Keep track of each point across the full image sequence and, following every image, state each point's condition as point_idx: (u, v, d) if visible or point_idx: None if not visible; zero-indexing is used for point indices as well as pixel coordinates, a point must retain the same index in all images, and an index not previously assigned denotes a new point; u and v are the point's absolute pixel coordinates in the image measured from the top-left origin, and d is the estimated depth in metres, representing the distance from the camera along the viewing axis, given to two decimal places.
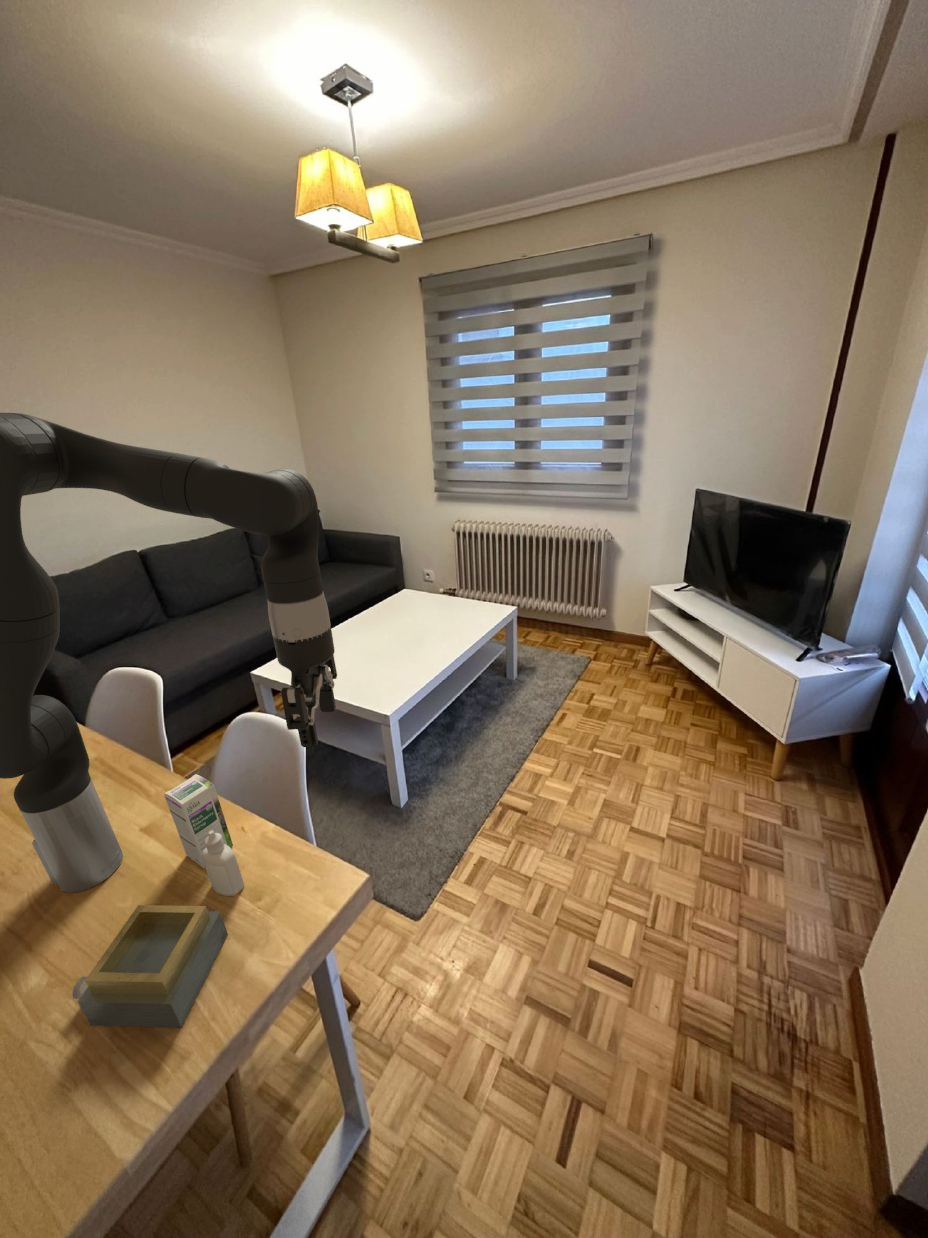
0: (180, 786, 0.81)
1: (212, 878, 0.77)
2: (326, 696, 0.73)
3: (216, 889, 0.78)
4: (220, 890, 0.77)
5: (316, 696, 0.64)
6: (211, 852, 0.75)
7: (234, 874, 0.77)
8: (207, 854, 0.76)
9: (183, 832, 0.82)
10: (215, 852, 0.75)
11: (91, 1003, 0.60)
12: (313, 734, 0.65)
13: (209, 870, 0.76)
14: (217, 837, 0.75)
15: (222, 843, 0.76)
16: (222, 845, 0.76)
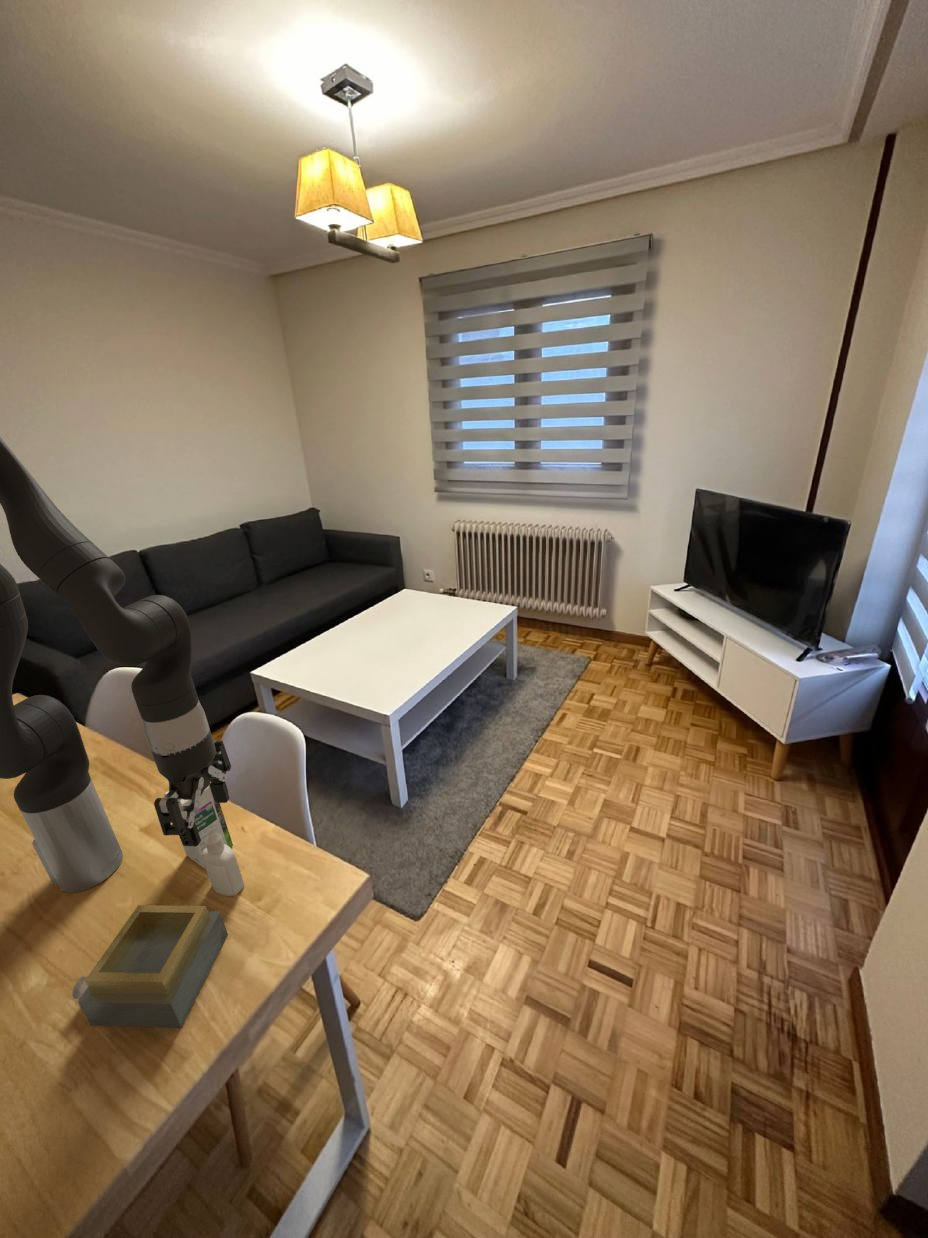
0: None
1: (212, 878, 0.77)
2: (218, 789, 0.77)
3: (216, 889, 0.78)
4: (220, 890, 0.77)
5: (195, 800, 0.68)
6: (211, 852, 0.75)
7: (234, 874, 0.77)
8: (207, 854, 0.76)
9: None
10: (215, 852, 0.75)
11: (91, 1003, 0.60)
12: (194, 835, 0.69)
13: (209, 870, 0.76)
14: (217, 837, 0.75)
15: (222, 843, 0.76)
16: (222, 845, 0.76)
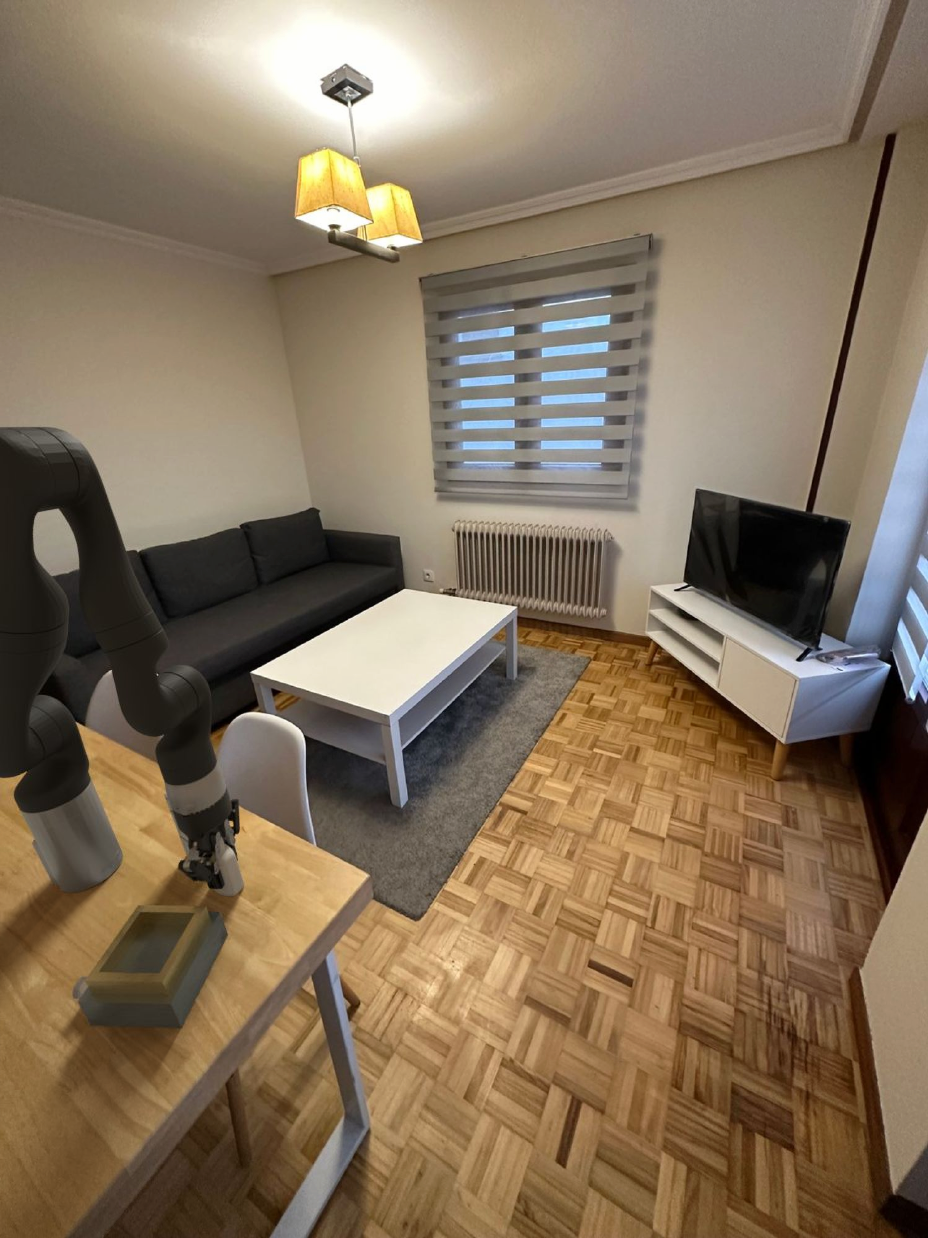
0: None
1: None
2: None
3: (216, 889, 0.78)
4: (220, 890, 0.77)
5: (216, 852, 0.73)
6: (212, 852, 0.75)
7: (234, 874, 0.77)
8: None
9: None
10: None
11: (91, 1003, 0.60)
12: (219, 879, 0.75)
13: None
14: None
15: (222, 843, 0.76)
16: (222, 845, 0.76)
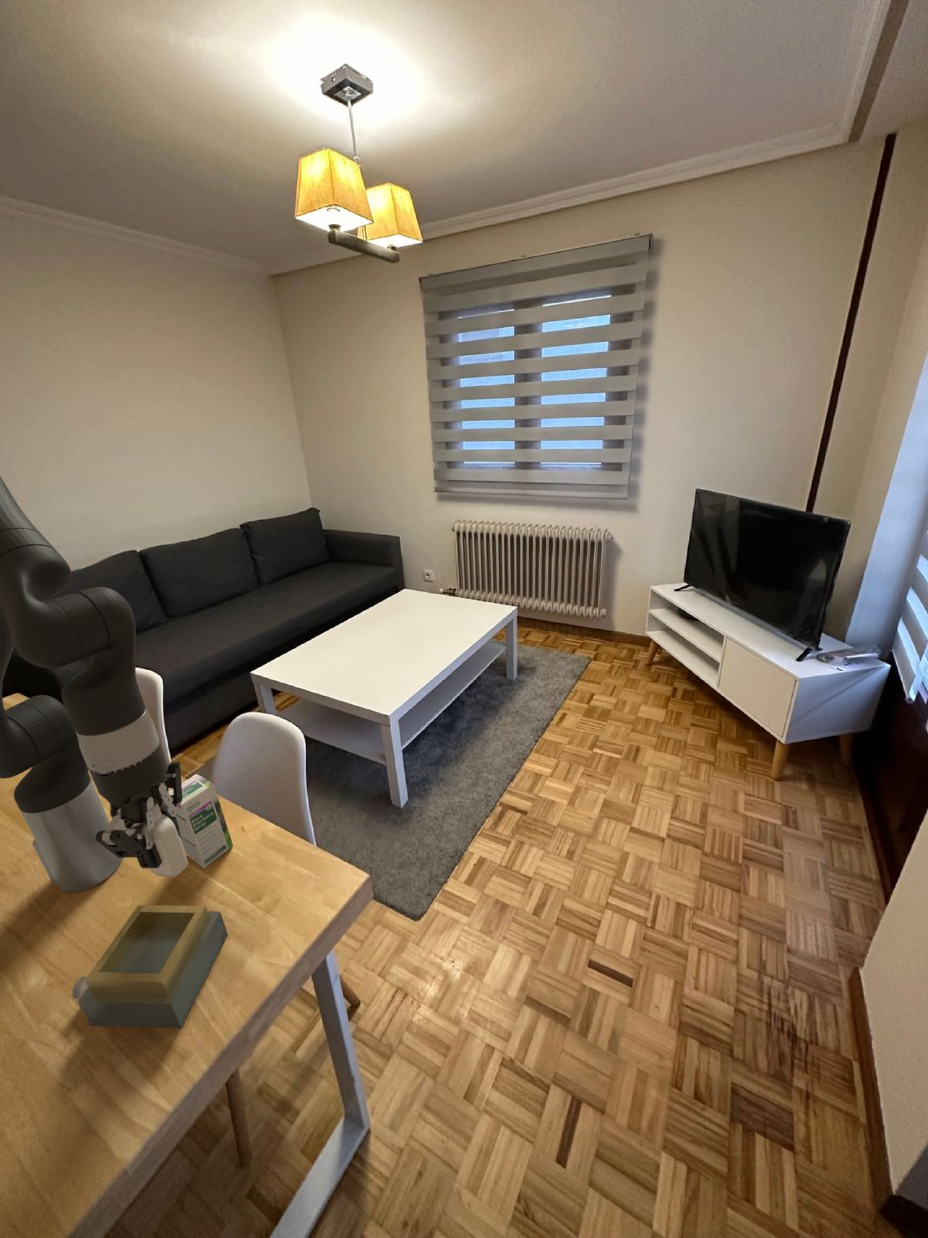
0: None
1: None
2: None
3: (153, 869, 0.65)
4: (158, 870, 0.64)
5: (148, 822, 0.60)
6: None
7: (174, 849, 0.64)
8: None
9: (183, 832, 0.82)
10: None
11: (91, 1003, 0.60)
12: (154, 856, 0.62)
13: None
14: None
15: (158, 812, 0.63)
16: (158, 815, 0.63)
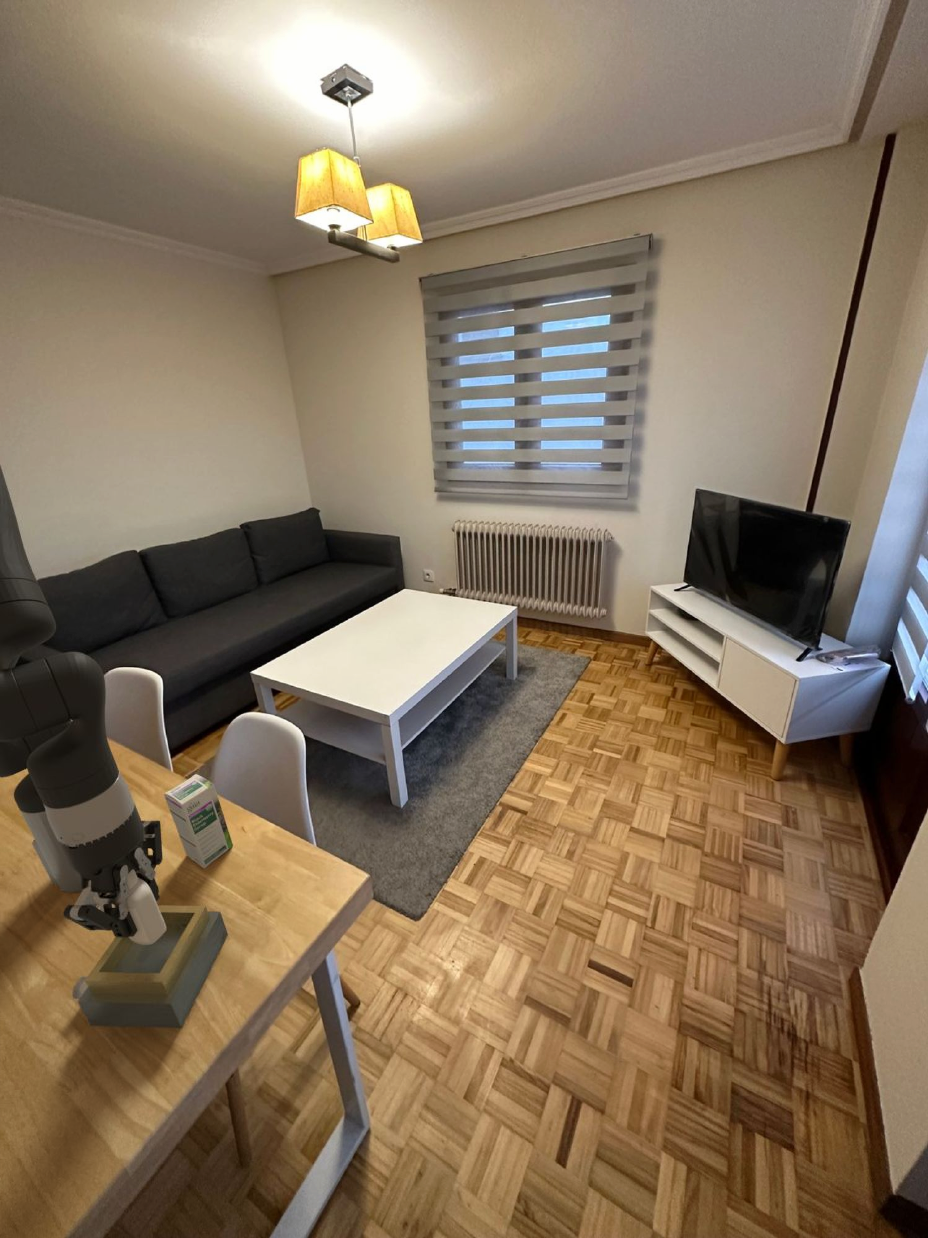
0: (180, 786, 0.81)
1: None
2: None
3: None
4: (134, 937, 0.61)
5: (121, 892, 0.57)
6: None
7: (151, 917, 0.60)
8: None
9: (183, 832, 0.82)
10: None
11: (91, 1003, 0.60)
12: (128, 925, 0.59)
13: None
14: None
15: (134, 878, 0.60)
16: (134, 881, 0.60)
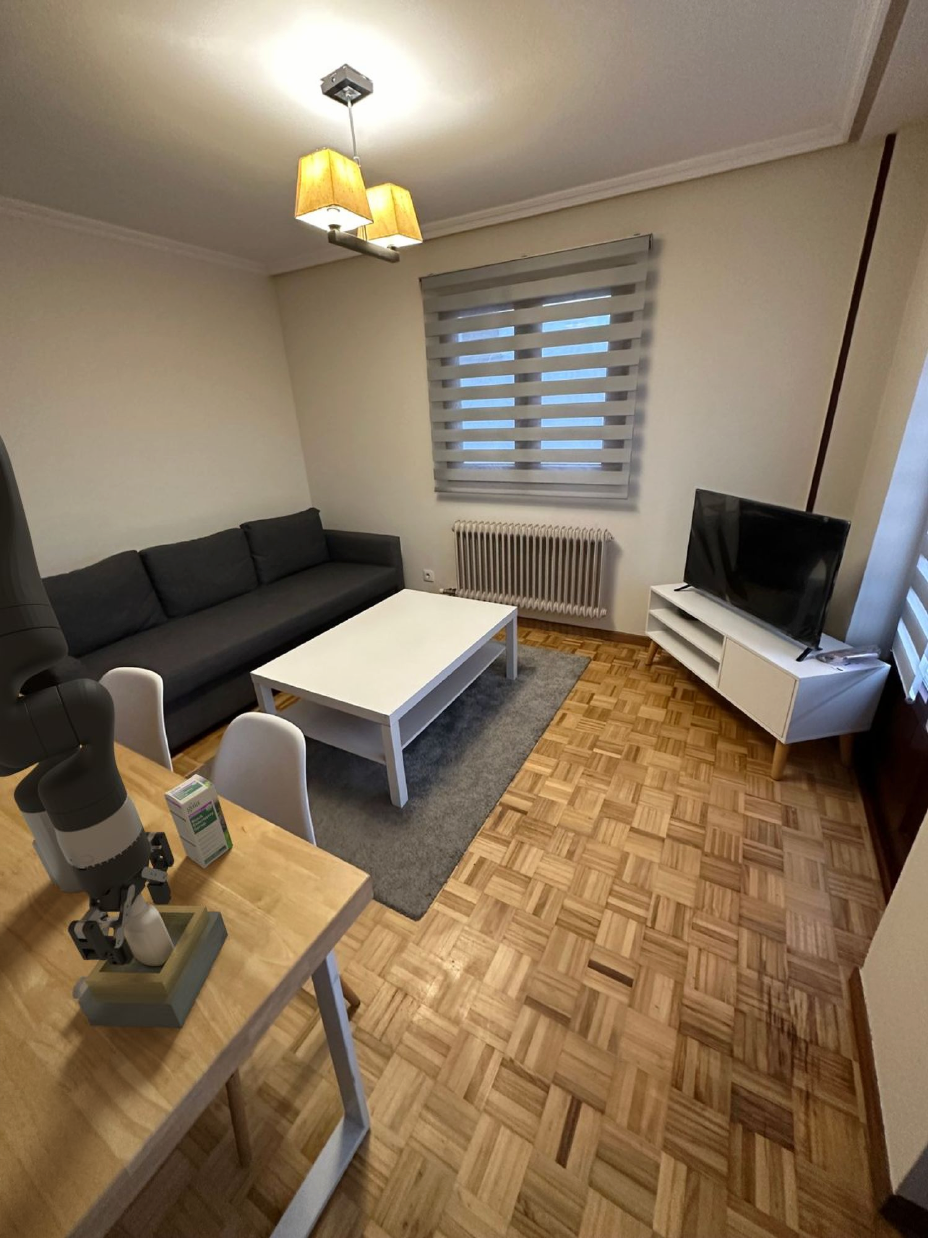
0: (180, 786, 0.81)
1: (132, 946, 0.62)
2: (157, 890, 0.65)
3: (138, 958, 0.63)
4: (143, 959, 0.63)
5: (124, 914, 0.57)
6: None
7: (160, 939, 0.62)
8: None
9: (183, 832, 0.82)
10: (133, 915, 0.60)
11: (91, 1003, 0.60)
12: (124, 953, 0.58)
13: (127, 937, 0.62)
14: None
15: (142, 903, 0.61)
16: (142, 906, 0.61)
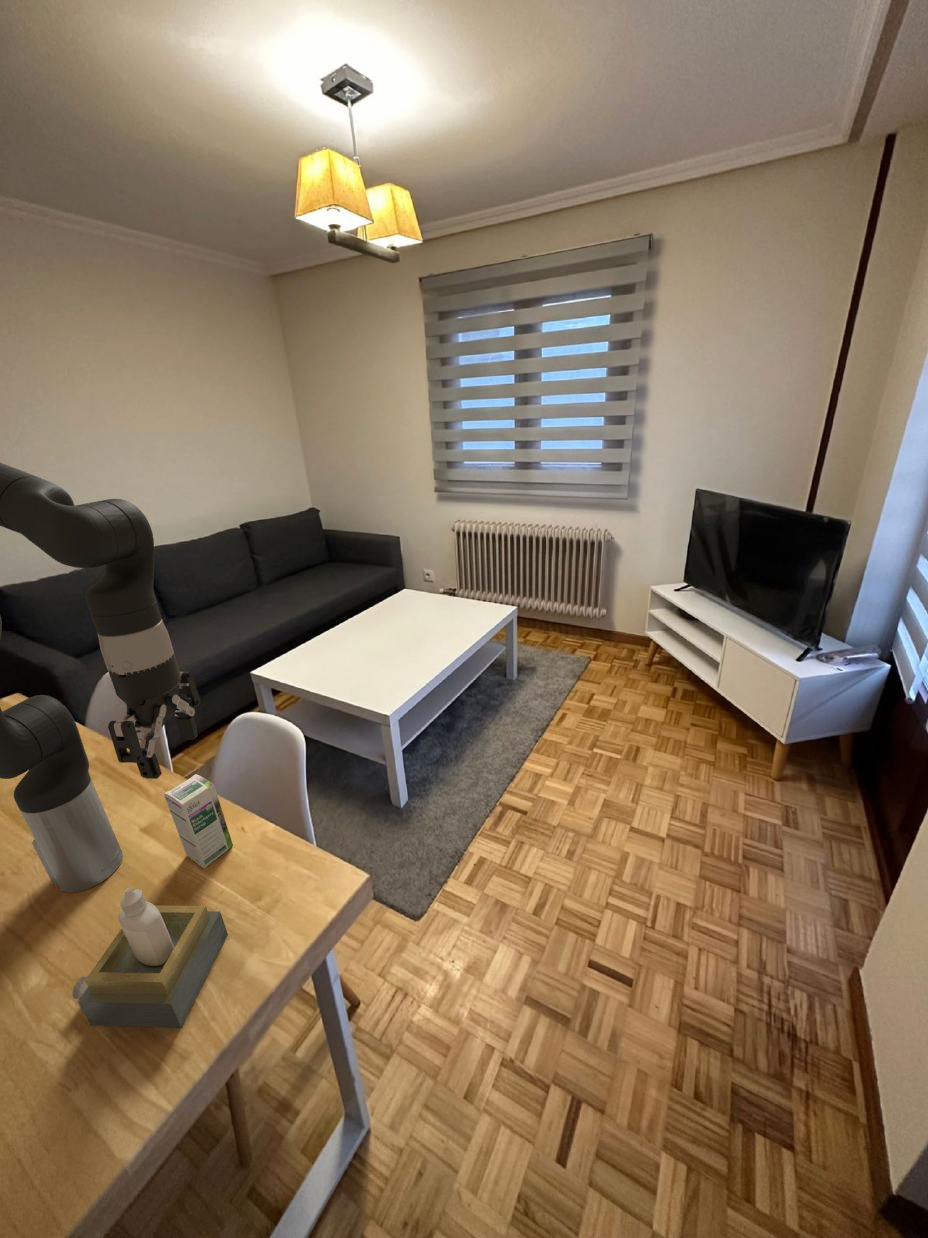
0: (180, 786, 0.81)
1: (132, 945, 0.62)
2: (185, 724, 0.72)
3: (138, 958, 0.63)
4: (143, 959, 0.63)
5: (155, 728, 0.63)
6: (129, 914, 0.60)
7: (160, 938, 0.62)
8: (124, 917, 0.61)
9: (183, 832, 0.82)
10: (133, 914, 0.60)
11: (91, 1003, 0.60)
12: (153, 766, 0.64)
13: (128, 936, 0.62)
14: (136, 895, 0.61)
15: (143, 902, 0.61)
16: (143, 905, 0.61)
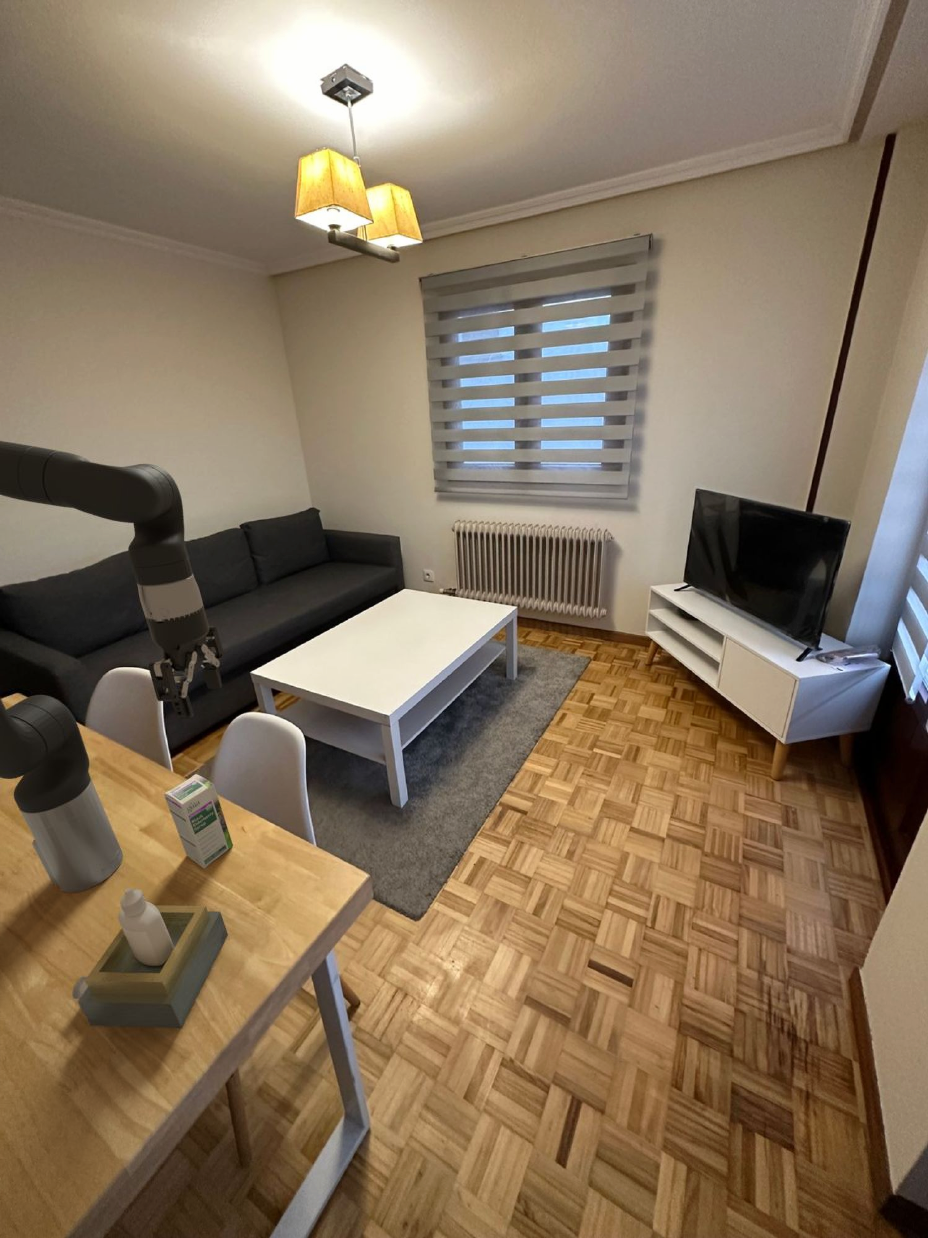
0: (180, 786, 0.81)
1: (132, 945, 0.62)
2: (211, 674, 0.79)
3: (138, 958, 0.63)
4: (143, 959, 0.63)
5: (188, 671, 0.71)
6: (129, 914, 0.60)
7: (160, 938, 0.62)
8: (124, 917, 0.61)
9: (183, 832, 0.82)
10: (133, 915, 0.60)
11: (91, 1003, 0.60)
12: (187, 706, 0.71)
13: (128, 936, 0.62)
14: (135, 895, 0.61)
15: (143, 902, 0.61)
16: (143, 905, 0.61)
